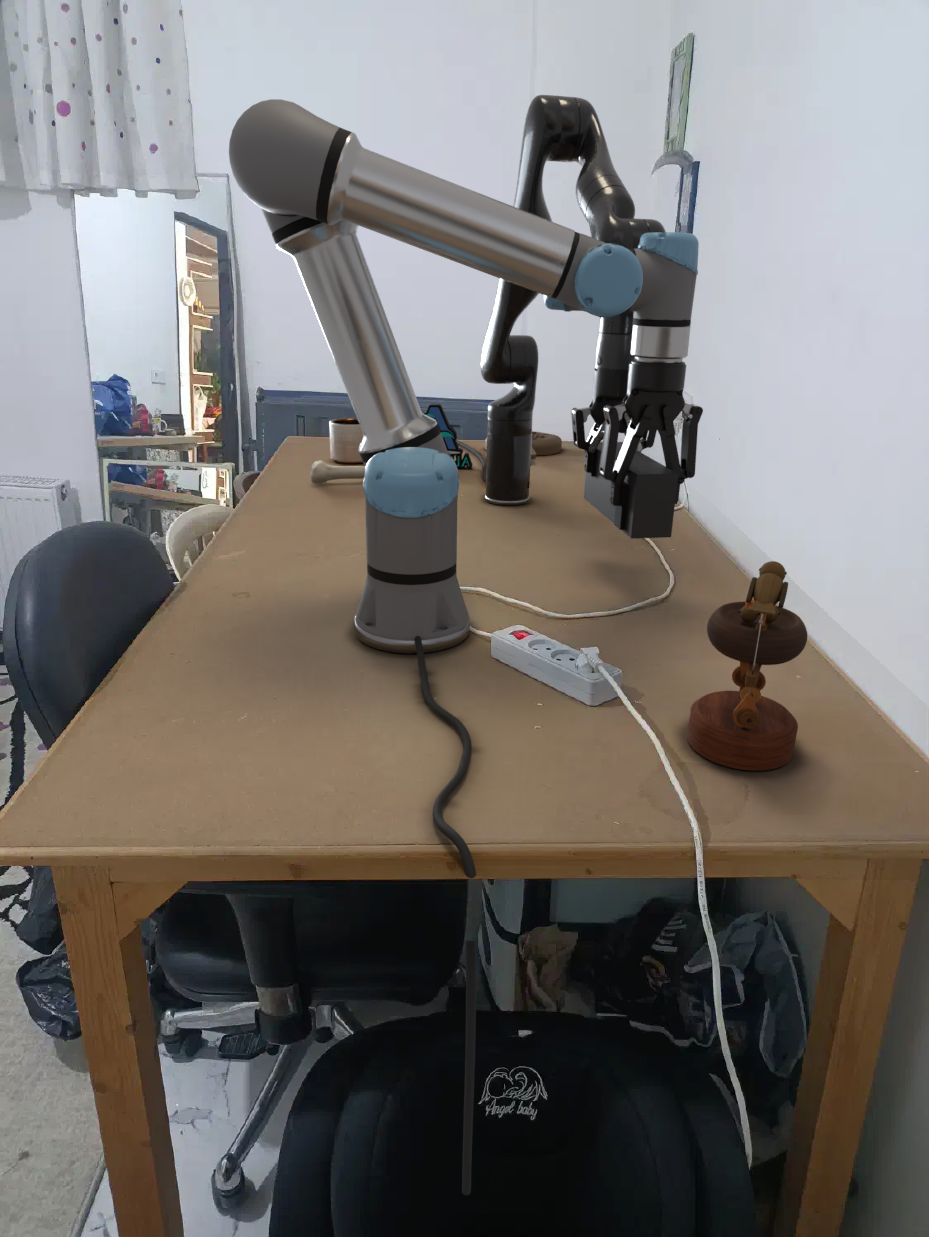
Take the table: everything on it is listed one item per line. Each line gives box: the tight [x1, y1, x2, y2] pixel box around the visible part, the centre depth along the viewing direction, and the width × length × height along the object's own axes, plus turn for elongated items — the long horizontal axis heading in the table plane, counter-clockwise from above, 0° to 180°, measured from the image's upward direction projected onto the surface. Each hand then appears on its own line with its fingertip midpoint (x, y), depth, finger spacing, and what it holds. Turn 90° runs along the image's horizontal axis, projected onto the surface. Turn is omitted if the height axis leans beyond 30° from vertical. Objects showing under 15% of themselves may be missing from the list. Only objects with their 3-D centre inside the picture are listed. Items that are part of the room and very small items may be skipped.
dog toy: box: [309, 460, 365, 485], centre depth 190 cm, size 20×6×5 cm, turn 99°
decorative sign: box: [422, 403, 474, 469], centre depth 205 cm, size 19×2×15 cm, turn 86°
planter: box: [328, 417, 364, 464], centre depth 212 cm, size 11×11×10 cm
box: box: [583, 441, 678, 540], centre depth 127 cm, size 23×6×9 cm, turn 9°
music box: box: [686, 560, 808, 772], centre depth 84 cm, size 15×11×20 cm
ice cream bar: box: [484, 431, 563, 460], centre depth 224 cm, size 21×28×4 cm
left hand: (641, 526), depth 122 cm, fingers closed on box, 6 cm apart
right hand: (610, 474), depth 134 cm, fingers closed on box, 6 cm apart
